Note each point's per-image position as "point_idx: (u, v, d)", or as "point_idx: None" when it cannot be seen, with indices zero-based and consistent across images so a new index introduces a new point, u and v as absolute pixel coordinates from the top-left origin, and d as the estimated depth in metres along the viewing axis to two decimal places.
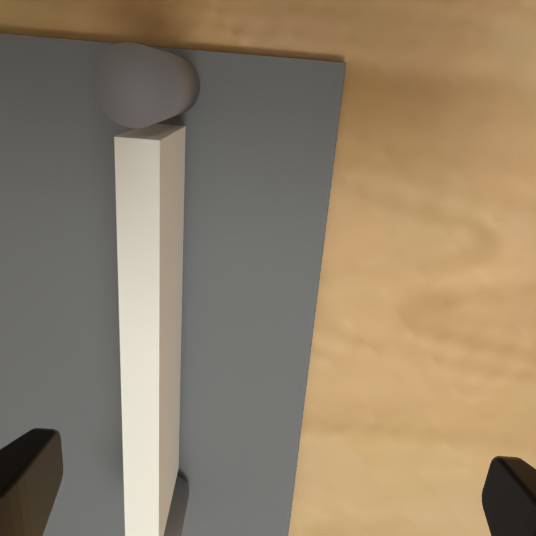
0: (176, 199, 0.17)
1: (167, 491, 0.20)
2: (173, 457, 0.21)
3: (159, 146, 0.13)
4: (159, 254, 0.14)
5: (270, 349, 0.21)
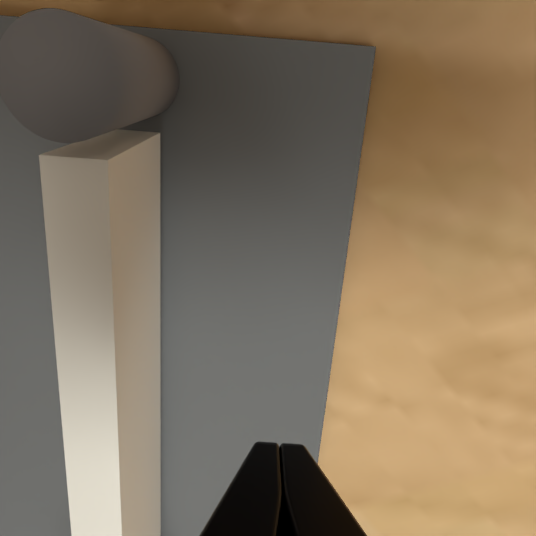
0: (146, 233, 0.12)
1: None
2: None
3: (107, 169, 0.09)
4: (114, 321, 0.10)
5: (273, 412, 0.17)
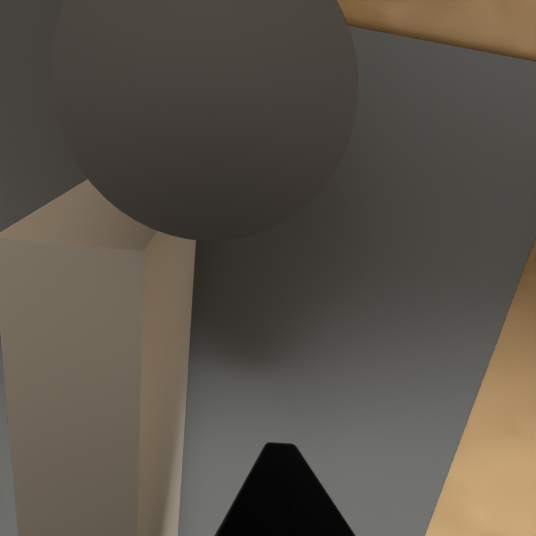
0: (179, 329, 0.08)
1: None
2: None
3: (141, 268, 0.04)
4: None
5: None
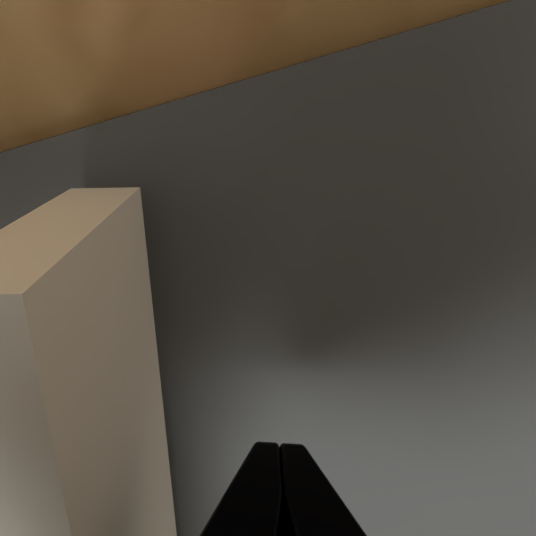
0: (129, 350, 0.08)
1: None
2: None
3: (24, 309, 0.04)
4: None
5: None
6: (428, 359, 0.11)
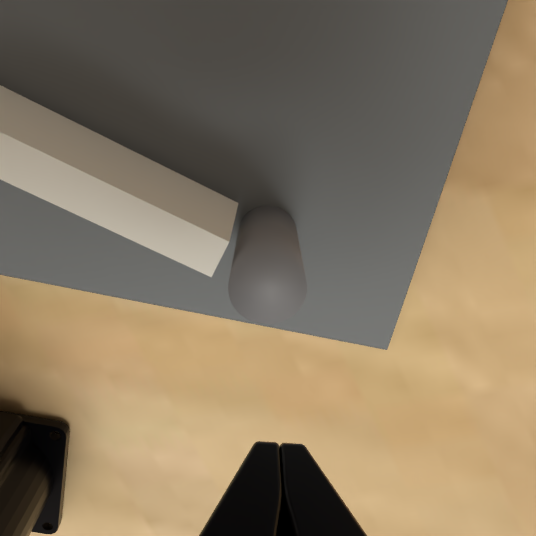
0: None
1: (191, 204, 0.15)
2: (184, 188, 0.17)
3: None
4: None
5: (440, 45, 0.17)
6: None
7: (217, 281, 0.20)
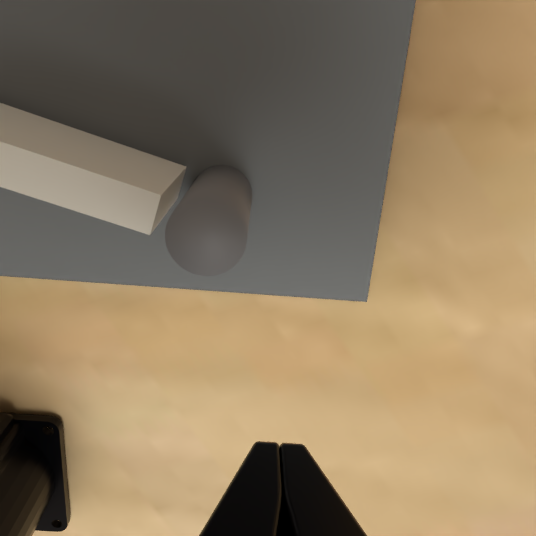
0: None
1: (127, 167, 0.15)
2: (123, 155, 0.16)
3: None
4: None
5: None
6: None
7: None
